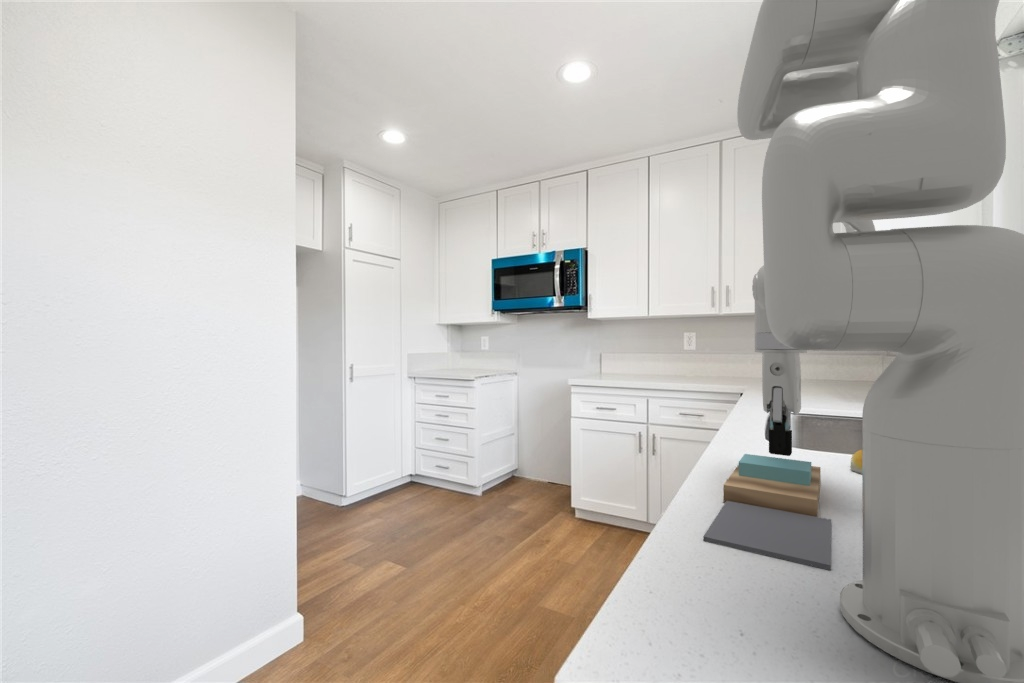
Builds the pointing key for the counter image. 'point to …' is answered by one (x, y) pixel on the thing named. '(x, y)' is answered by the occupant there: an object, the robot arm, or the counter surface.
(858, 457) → the bread roll
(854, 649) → the counter surface
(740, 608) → the counter surface
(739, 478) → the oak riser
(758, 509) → the charcoal mat
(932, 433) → the robot arm
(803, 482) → the teal tile
